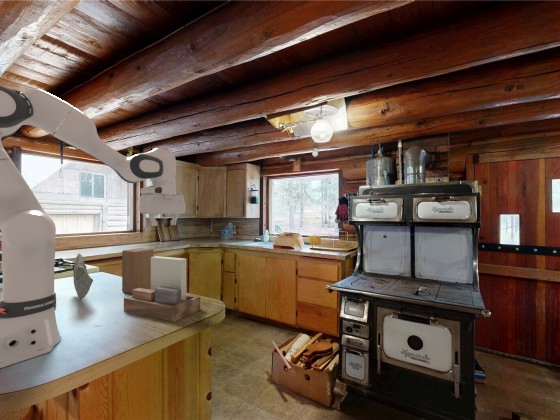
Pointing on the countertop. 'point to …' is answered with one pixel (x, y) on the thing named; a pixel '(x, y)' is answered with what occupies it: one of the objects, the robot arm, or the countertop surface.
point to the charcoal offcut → (168, 295)
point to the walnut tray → (163, 308)
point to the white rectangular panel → (169, 273)
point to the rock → (81, 277)
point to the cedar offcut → (144, 294)
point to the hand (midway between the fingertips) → (164, 225)
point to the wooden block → (136, 269)
